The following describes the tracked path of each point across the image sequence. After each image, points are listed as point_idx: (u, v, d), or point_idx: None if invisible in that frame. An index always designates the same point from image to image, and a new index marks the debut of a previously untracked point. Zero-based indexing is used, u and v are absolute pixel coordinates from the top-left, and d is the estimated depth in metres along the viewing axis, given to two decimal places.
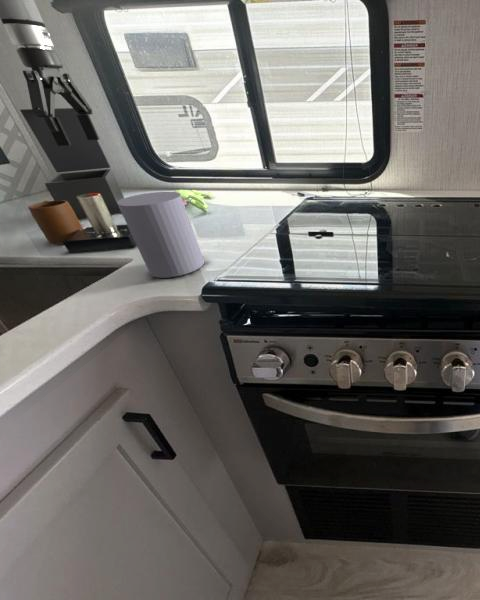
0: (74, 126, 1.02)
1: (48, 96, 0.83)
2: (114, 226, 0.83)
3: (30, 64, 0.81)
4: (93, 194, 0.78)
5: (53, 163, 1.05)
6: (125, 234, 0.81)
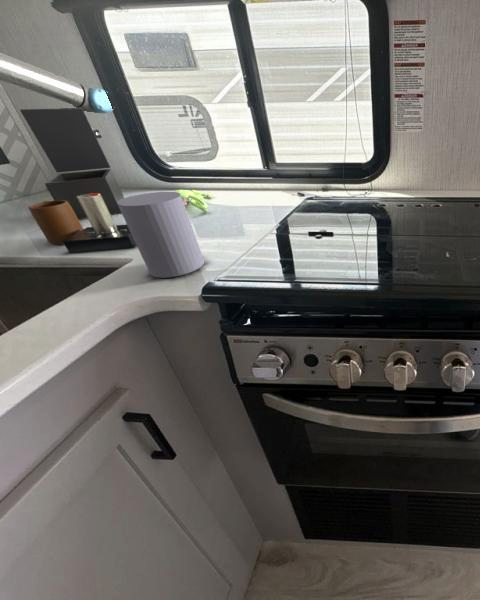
0: (74, 126, 1.02)
1: None
2: (114, 226, 0.83)
3: None
4: (93, 194, 0.78)
5: (53, 163, 1.05)
6: (125, 234, 0.81)
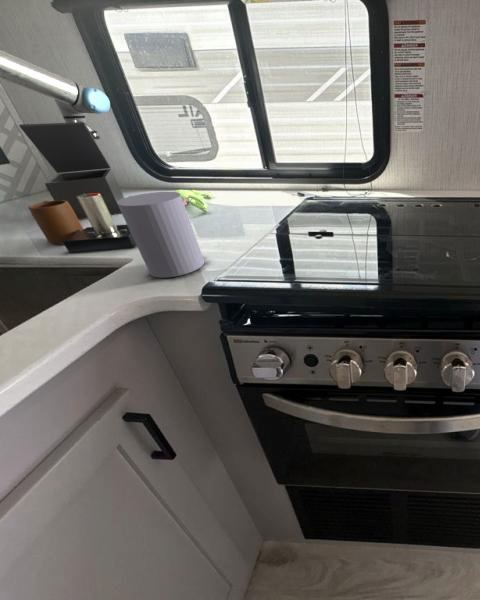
0: (75, 138, 0.99)
1: None
2: (114, 226, 0.83)
3: None
4: (93, 194, 0.78)
5: (53, 166, 1.04)
6: (125, 234, 0.81)
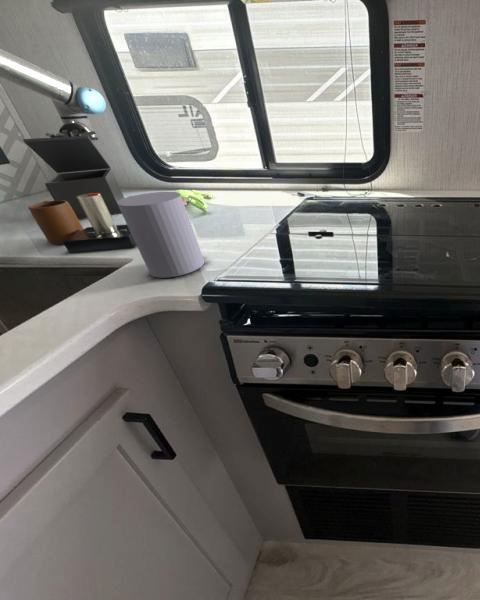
0: (79, 148, 0.99)
1: None
2: (114, 226, 0.83)
3: None
4: (93, 194, 0.78)
5: (54, 168, 1.04)
6: (125, 234, 0.81)
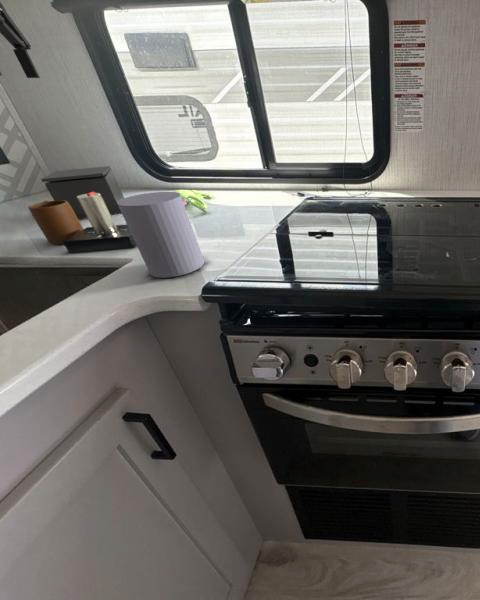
0: None
1: None
2: None
3: None
4: (92, 193, 0.79)
5: None
6: (125, 234, 0.81)
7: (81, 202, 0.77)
